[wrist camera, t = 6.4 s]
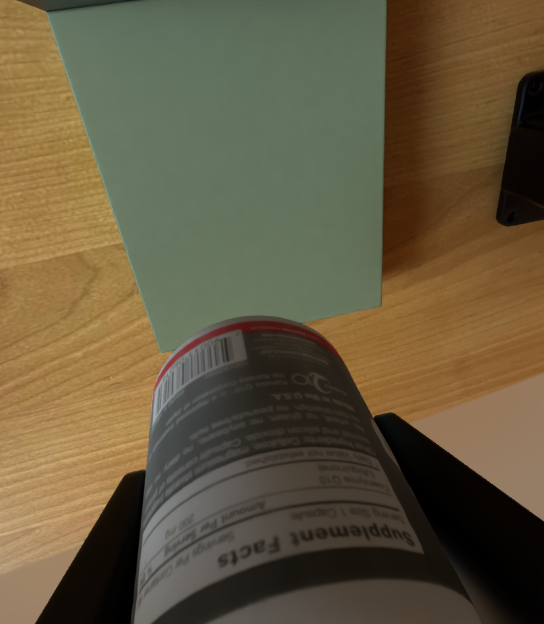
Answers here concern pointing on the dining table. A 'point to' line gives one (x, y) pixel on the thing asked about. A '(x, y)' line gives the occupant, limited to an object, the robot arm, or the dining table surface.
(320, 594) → the pill bottle
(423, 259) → the dining table surface
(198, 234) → the storage rack
